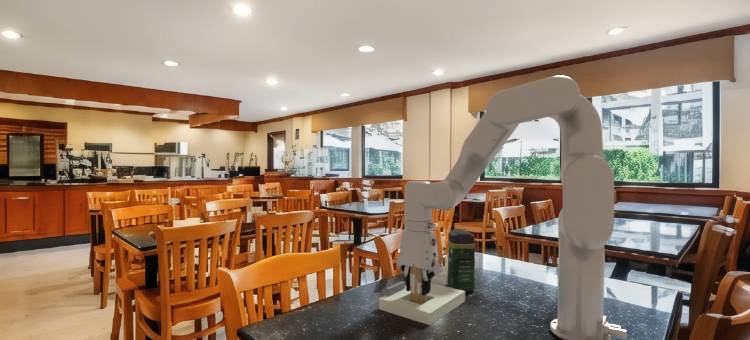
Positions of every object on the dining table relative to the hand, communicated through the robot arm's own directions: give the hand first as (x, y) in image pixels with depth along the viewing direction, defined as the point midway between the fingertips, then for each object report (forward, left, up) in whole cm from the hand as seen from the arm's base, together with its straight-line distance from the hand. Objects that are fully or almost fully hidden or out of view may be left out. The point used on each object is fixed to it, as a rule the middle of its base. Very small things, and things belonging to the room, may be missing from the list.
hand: (417, 291), depth 104 cm
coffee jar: (-2, -23, -5) cm, 24 cm away
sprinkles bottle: (0, 0, -4) cm, 4 cm away
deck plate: (0, -3, -5) cm, 6 cm away
